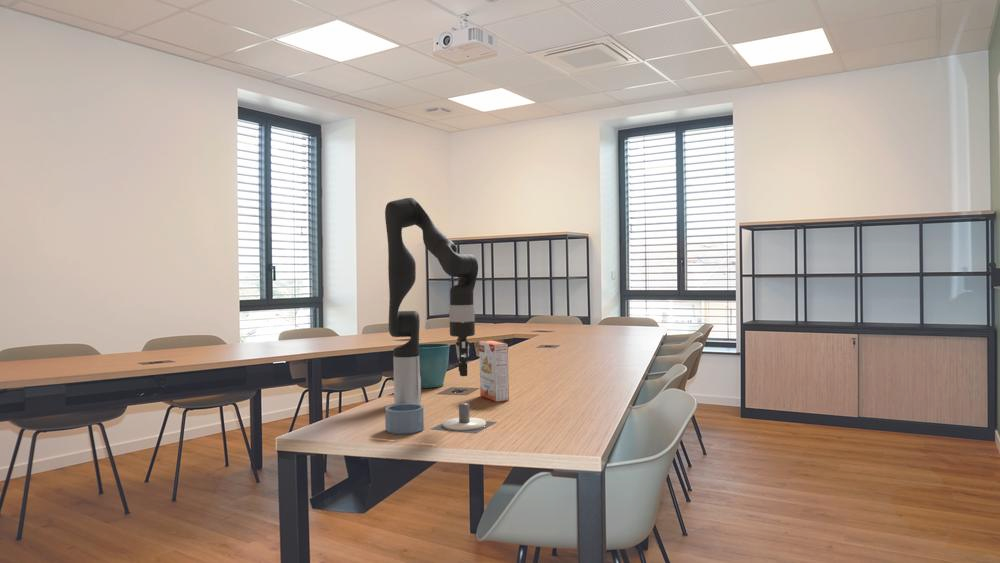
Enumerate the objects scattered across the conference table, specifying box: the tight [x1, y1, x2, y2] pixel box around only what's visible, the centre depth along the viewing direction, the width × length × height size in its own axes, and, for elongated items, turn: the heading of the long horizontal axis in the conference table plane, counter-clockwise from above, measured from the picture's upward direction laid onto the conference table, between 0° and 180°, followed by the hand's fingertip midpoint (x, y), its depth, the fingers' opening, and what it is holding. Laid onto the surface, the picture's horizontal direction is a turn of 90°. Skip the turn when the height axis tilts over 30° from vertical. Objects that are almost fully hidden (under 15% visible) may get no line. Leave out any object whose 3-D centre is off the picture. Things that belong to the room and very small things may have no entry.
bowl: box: [384, 404, 425, 435], centre depth 189 cm, size 11×11×7 cm
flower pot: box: [419, 342, 451, 389], centre depth 268 cm, size 18×18×17 cm
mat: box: [430, 420, 498, 434], centre depth 194 cm, size 15×15×1 cm
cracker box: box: [478, 340, 510, 403], centre depth 238 cm, size 14×6×21 cm, turn 25°
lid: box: [442, 402, 487, 431], centre depth 194 cm, size 13×13×6 cm
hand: (462, 373), depth 194 cm, fingers open, 8 cm apart
